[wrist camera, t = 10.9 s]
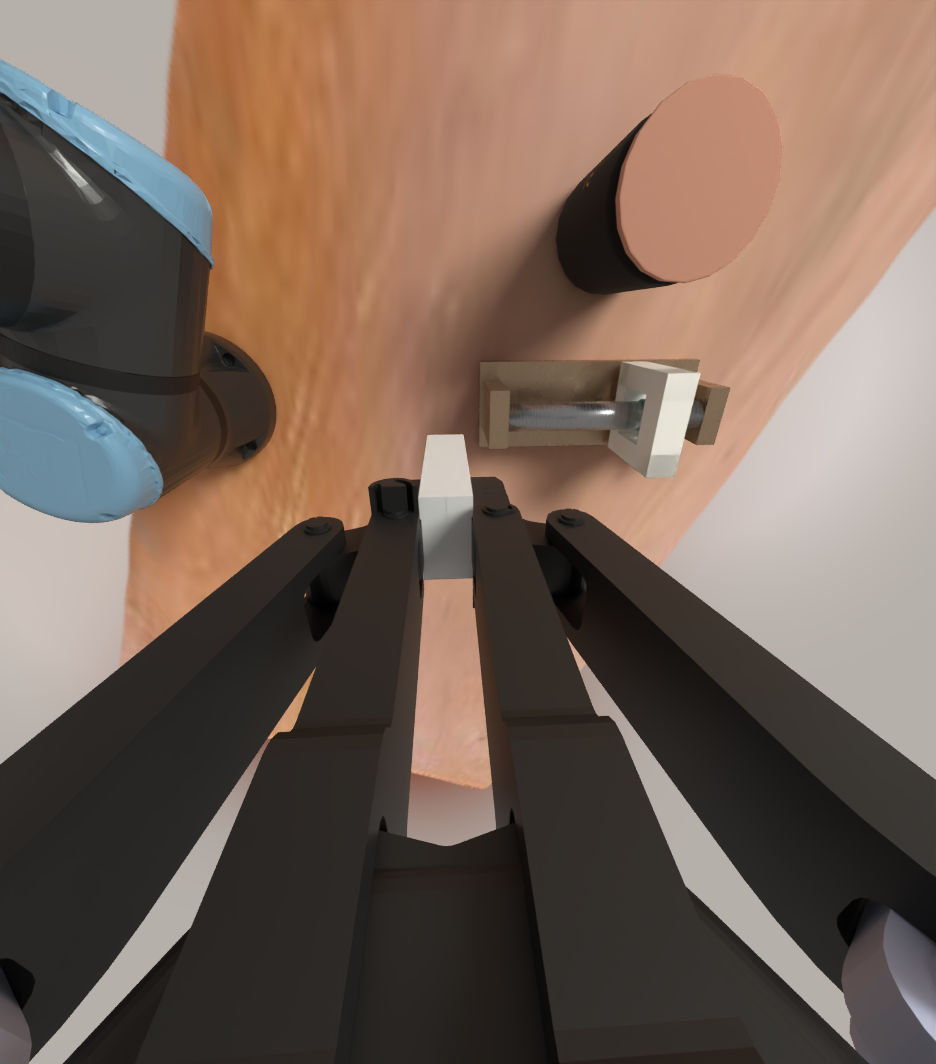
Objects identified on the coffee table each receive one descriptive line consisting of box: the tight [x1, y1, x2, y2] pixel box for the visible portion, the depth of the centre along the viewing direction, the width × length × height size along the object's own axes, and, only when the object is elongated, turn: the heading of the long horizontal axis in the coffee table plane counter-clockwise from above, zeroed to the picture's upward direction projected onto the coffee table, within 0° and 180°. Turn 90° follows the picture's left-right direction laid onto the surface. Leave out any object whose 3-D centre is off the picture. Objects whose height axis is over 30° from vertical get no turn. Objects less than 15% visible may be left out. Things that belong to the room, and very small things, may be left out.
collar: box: [608, 361, 700, 478], centre depth 44 cm, size 3×10×11 cm, turn 0°
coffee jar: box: [556, 74, 783, 294], centre depth 34 cm, size 11×11×18 cm
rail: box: [479, 359, 730, 449], centre depth 46 cm, size 26×10×9 cm, turn 90°
